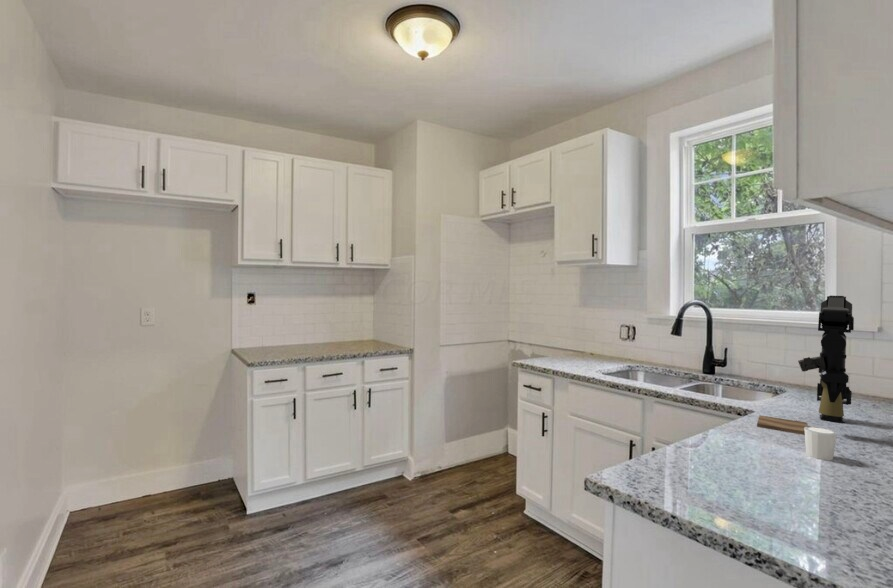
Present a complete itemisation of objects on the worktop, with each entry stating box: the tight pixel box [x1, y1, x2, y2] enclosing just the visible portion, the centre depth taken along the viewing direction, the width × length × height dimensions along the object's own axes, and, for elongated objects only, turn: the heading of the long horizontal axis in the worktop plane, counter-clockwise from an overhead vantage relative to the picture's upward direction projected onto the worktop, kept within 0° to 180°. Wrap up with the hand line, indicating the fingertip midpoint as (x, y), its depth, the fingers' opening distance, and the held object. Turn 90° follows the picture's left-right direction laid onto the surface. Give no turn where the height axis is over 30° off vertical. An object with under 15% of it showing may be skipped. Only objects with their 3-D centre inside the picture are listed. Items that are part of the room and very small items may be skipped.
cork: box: [818, 381, 845, 417], centre depth 144 cm, size 6×6×11 cm
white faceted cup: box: [804, 426, 838, 461], centre depth 124 cm, size 7×7×7 cm
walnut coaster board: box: [756, 415, 809, 436], centre depth 152 cm, size 13×13×1 cm
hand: (831, 400), depth 144 cm, fingers closed on cork, 4 cm apart
